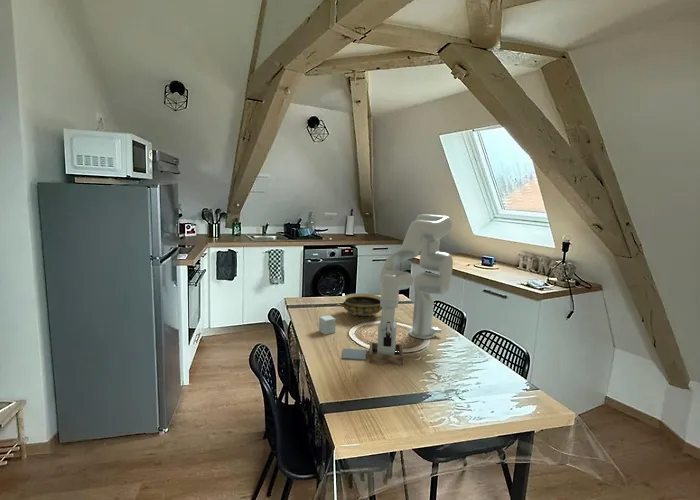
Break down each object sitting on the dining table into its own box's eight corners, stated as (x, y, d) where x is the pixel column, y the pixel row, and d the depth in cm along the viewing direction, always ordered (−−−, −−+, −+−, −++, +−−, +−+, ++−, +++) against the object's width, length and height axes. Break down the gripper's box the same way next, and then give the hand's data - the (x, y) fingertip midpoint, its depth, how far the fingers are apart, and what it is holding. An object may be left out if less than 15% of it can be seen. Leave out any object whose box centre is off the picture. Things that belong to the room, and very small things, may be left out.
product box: (329, 329, 211) (329, 315, 210) (335, 332, 206) (336, 318, 205) (318, 330, 208) (319, 316, 207) (324, 334, 203) (325, 320, 202)
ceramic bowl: (380, 308, 250) (381, 292, 248) (395, 321, 227) (396, 303, 225) (331, 310, 241) (331, 293, 239) (342, 324, 218) (342, 306, 217)
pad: (366, 351, 186) (366, 349, 186) (365, 360, 176) (365, 359, 176) (343, 349, 186) (343, 348, 186) (342, 359, 176) (342, 357, 176)
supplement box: (395, 349, 183) (397, 322, 181) (393, 356, 176) (395, 327, 174) (378, 347, 185) (380, 320, 182) (376, 354, 177) (378, 325, 175)
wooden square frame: (400, 351, 187) (401, 344, 186) (403, 365, 173) (403, 357, 173) (369, 349, 188) (369, 342, 187) (369, 362, 174) (369, 354, 173)
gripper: (379, 296, 185) (377, 334, 188) (380, 308, 168) (378, 349, 171) (396, 297, 185) (394, 335, 188) (399, 309, 168) (396, 351, 171)
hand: (386, 342), depth 179 cm, fingers closed on supplement box, 7 cm apart
